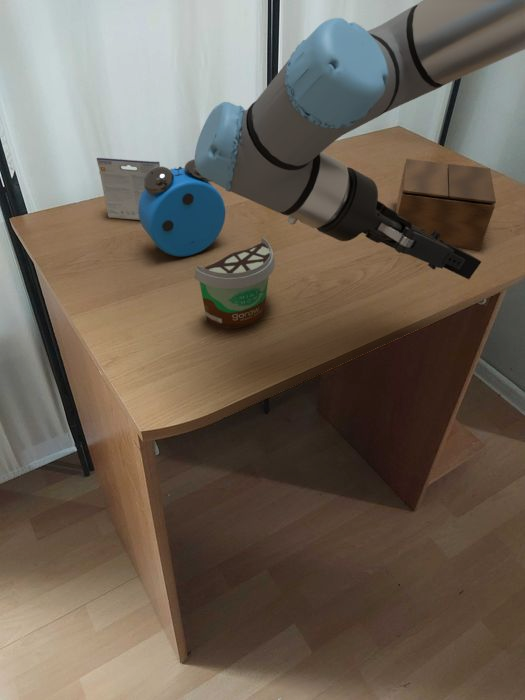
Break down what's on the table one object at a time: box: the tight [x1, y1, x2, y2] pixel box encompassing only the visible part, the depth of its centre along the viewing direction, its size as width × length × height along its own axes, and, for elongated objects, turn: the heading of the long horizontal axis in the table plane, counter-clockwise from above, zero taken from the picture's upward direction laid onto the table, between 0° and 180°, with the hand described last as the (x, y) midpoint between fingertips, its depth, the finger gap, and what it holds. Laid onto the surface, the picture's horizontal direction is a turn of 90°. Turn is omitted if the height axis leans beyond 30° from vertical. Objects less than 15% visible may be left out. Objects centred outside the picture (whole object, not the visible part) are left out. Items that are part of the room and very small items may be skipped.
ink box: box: [96, 157, 161, 221], centre depth 95 cm, size 12×2×12 cm, turn 82°
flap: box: [447, 163, 497, 205], centre depth 92 cm, size 7×13×1 cm, turn 167°
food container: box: [194, 236, 276, 329], centre depth 75 cm, size 12×6×10 cm, turn 129°
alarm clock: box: [139, 158, 226, 257], centre depth 87 cm, size 13×6×15 cm, turn 119°
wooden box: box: [395, 158, 496, 251], centre depth 96 cm, size 15×13×9 cm
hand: (471, 268), depth 70 cm, fingers closed
